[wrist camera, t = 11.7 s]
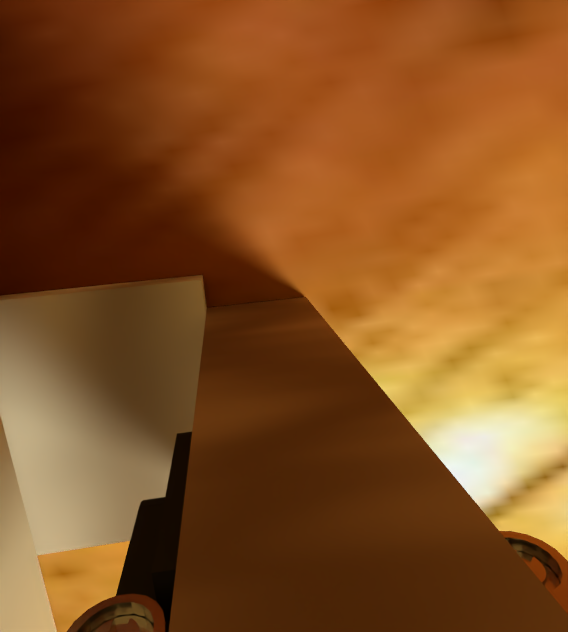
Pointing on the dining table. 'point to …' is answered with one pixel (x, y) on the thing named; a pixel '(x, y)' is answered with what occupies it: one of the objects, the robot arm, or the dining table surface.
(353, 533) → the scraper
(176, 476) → the robot arm
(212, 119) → the dining table surface
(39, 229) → the dining table surface
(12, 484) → the cream footstool
